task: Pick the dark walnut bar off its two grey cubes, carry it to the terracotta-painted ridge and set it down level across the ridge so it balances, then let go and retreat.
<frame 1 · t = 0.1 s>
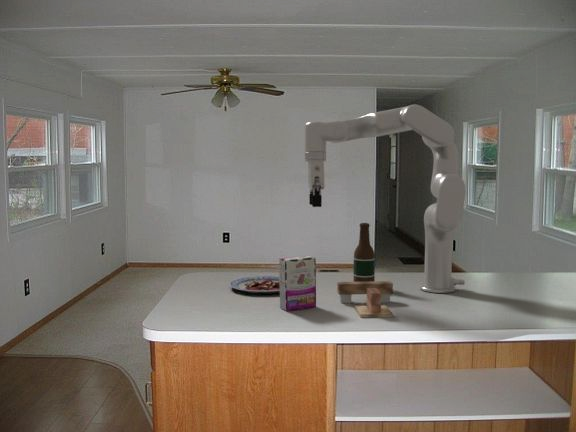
hand: (315, 205, 206), 31 cm above the table, tool pointing down, fingers open, 9 cm apart
beer bottle: (363, 287, 216), on the table
grey cubes: (364, 301, 194), on the table
fulcrum: (373, 312, 180), on the table
walnut bar: (364, 292, 194), point 3 cm above the table, touching grey cubes
candy bar box: (297, 308, 187), on the table
ceramic plate: (264, 289, 215), on the table
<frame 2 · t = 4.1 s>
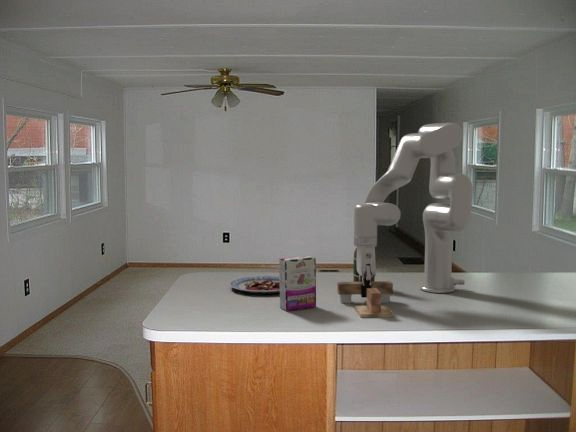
hand: (364, 295, 194), 2 cm above the table, tool pointing down, fingers closed on walnut bar, 3 cm apart
walnut bar: (364, 292, 194), point 3 cm above the table, touching gripper, grey cubes
everything else where it was.
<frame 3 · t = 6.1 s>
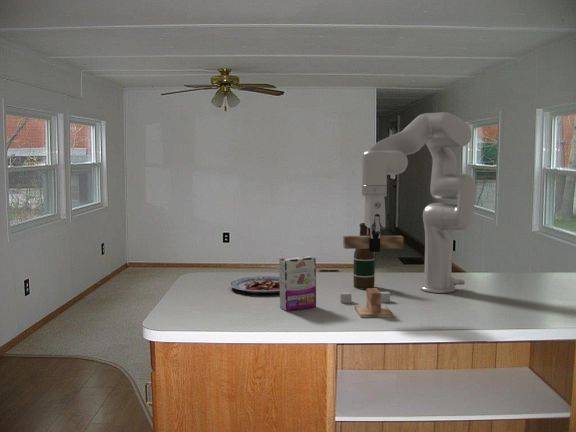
hand: (373, 250, 179), 20 cm above the table, tool pointing down, fingers closed on walnut bar, 3 cm apart
walnut bar: (373, 247, 179), point 20 cm above the table, touching gripper
everything else where it was.
when the fingers open (8 cm above the table, at t = 8.6 s): walnut bar drops 1 cm, resting on fulcrum.
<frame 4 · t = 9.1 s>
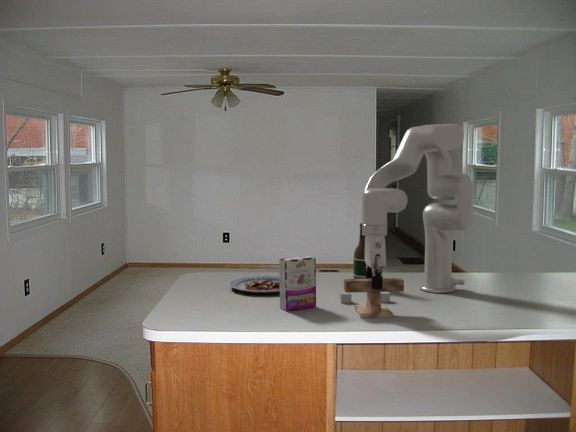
hand: (373, 285, 179), 9 cm above the table, tool pointing down, fingers open, 8 cm apart
walnut bar: (373, 290, 179), point 7 cm above the table, touching fulcrum
everything else where it was.
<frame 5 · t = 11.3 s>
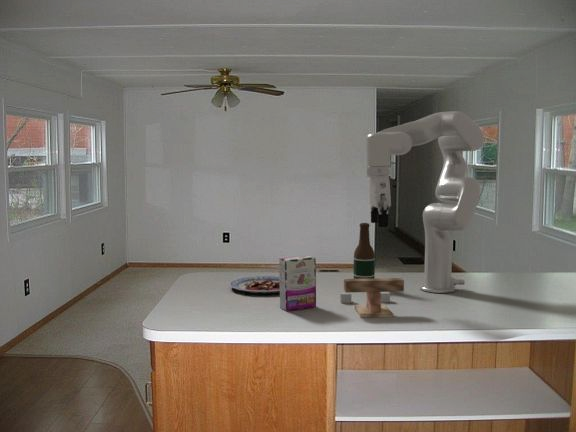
hand: (379, 224, 188), 26 cm above the table, tool pointing down, fingers open, 9 cm apart
nothing on the table moved.
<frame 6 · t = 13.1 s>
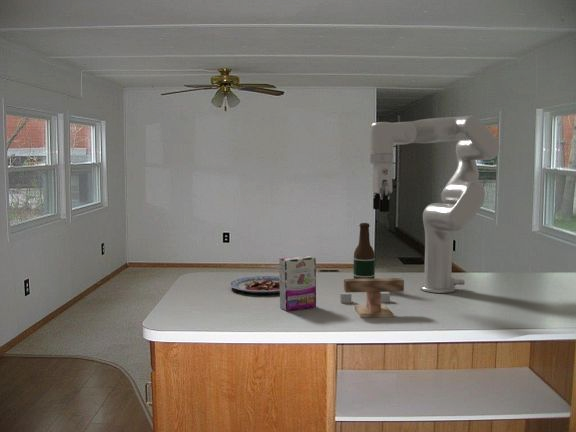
hand: (380, 210, 195), 30 cm above the table, tool pointing down, fingers open, 9 cm apart
nothing on the table moved.
at the end: walnut bar 0.0 cm off-centre on the fulcrum, point 7.0 cm above the fulcrum's base; walnut bar tilted 0°; walnut bar touching fulcrum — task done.
